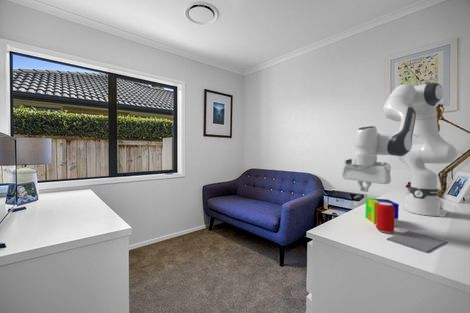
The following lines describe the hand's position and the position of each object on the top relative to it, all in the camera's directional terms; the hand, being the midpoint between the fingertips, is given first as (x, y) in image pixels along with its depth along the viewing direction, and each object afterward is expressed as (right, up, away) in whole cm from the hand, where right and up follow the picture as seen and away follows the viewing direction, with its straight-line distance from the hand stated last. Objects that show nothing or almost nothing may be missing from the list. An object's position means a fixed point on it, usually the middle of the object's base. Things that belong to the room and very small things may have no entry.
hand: (364, 191), depth 98 cm
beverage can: (+4, -16, -7) cm, 18 cm away
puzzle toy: (+12, -16, +6) cm, 21 cm away
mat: (+10, -16, -17) cm, 25 cm away
